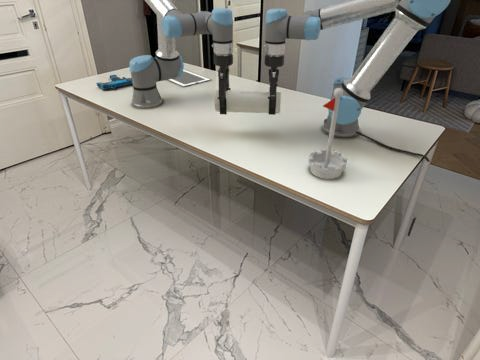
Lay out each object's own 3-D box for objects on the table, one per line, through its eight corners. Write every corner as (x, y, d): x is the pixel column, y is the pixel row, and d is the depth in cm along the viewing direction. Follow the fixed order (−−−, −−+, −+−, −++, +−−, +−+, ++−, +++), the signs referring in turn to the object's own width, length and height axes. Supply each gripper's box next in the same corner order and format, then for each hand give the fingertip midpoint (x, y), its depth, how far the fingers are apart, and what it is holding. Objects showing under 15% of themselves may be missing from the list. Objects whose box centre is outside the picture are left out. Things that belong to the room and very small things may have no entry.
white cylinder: (279, 108, 144) (280, 89, 140) (279, 116, 137) (280, 96, 133) (218, 107, 146) (217, 87, 142) (215, 114, 139) (214, 94, 135)
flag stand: (330, 158, 128) (344, 79, 112) (352, 176, 118) (370, 92, 102) (300, 165, 124) (309, 84, 108) (320, 183, 114) (333, 97, 98)
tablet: (156, 75, 222) (156, 74, 221) (183, 69, 233) (183, 69, 233) (183, 86, 201) (183, 86, 201) (210, 80, 212) (210, 79, 212)
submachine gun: (140, 68, 226) (159, 74, 209) (142, 73, 228) (160, 80, 211) (89, 77, 207) (104, 85, 190) (90, 84, 209) (106, 92, 192)
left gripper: (217, 47, 139) (219, 100, 151) (209, 60, 121) (211, 119, 134) (235, 47, 138) (235, 101, 151) (229, 61, 121) (230, 120, 133)
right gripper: (265, 47, 139) (263, 97, 151) (263, 62, 118) (262, 119, 130) (283, 47, 139) (280, 97, 150) (285, 63, 118) (281, 120, 129)
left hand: (224, 109), depth 142 cm, fingers closed on white cylinder, 8 cm apart
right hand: (272, 108), depth 140 cm, fingers open, 13 cm apart
